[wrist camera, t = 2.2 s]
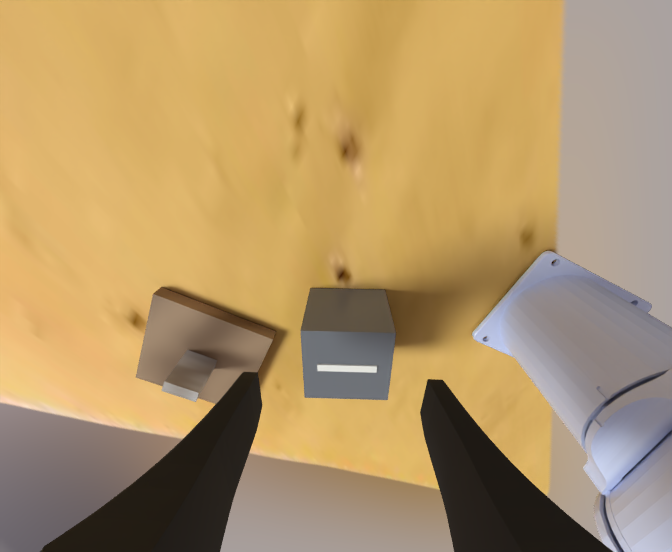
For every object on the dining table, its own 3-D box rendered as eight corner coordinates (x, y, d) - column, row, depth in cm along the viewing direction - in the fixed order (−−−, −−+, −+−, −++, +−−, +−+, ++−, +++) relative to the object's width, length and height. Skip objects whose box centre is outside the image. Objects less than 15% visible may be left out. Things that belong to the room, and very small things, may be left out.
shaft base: (275, 331, 23) (262, 370, 19) (242, 401, 26) (225, 446, 23) (161, 287, 21) (121, 320, 17) (143, 368, 25) (107, 410, 21)
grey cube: (385, 289, 21) (396, 334, 16) (379, 347, 23) (387, 401, 18) (310, 288, 21) (300, 331, 16) (312, 346, 23) (304, 398, 19)
